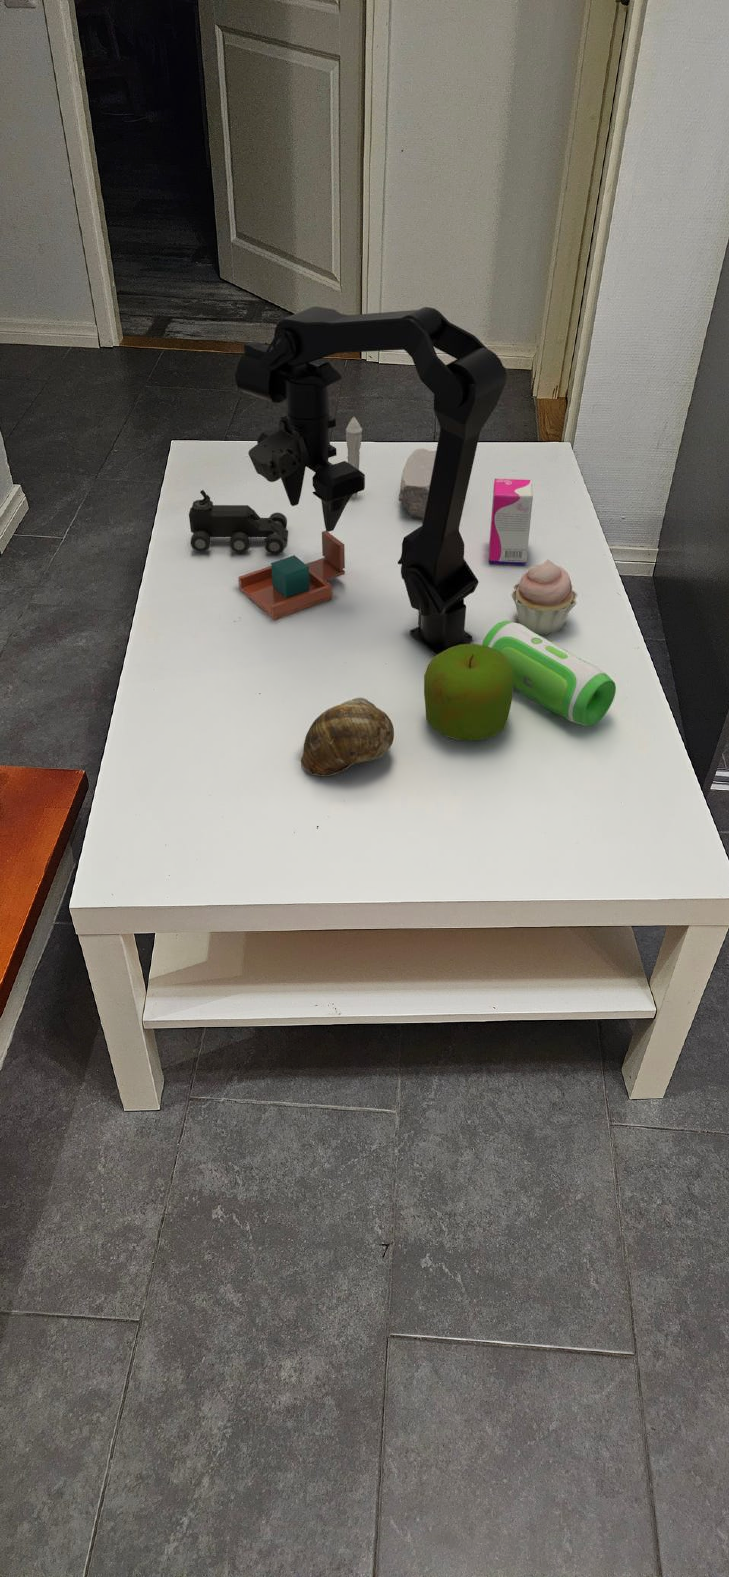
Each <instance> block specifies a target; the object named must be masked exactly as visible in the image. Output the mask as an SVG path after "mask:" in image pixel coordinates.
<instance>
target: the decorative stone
mask: <svg viewBox="0 0 729 1577" xmlns="http://www.w3.org/2000/svg"><path fill="white" fill-rule="evenodd" d="M435 455H436V450H429V449H425V448H416V449H414V450H413V451H412V453H411V454H410V455H409V456H408V457H407V459H406V461H405V464H404V466H403V470H402V474H401V479H400V486H399V487H400V489H399V495H398V501H399V502H401V505H402V506H403V508H404V509H405V511H406V513H407V515H408V516H410V517H411V519H415V520H416V519H417V520H423V518H424V513H425V507H426V502H427V497H428V492H429V486H430V481H431V476H432V471H433V465H434V460H435Z"/></svg>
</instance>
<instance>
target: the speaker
mask: <svg viewBox="0 0 729 1577" xmlns="http://www.w3.org/2000/svg"><path fill="white" fill-rule="evenodd" d="M481 645H484V646H488V647H491V648H493V649H496V650H498V651H499V652H500V653H502V654H503V655H504V656H505V657H506V658H507V659H508V660H509V661H510V663H511V664H512V670H513V682H514V689H516V690H517V691H519V692H520V693H522V694H523V695H525V696H527V697H528V698H530V699H531V700H532V701H534V702H536V703H538V704H539V705H541V706H543V707H545V708H546V709H548V711H551V712H552V713H555V714H556V715H559V716H562V717H564V718H565V719H567V720H568V721H570V722H573V723H575V724H579V725H582V726H587V727H589V726H594V725H595V724H597V723H598V722H599V721H600V720H602V718H603V717H604V716H605V715H606V714H607V713H608V711H609V710H610V708H611V706H612V704H613V701H614V700H615V696H616V691H617V687H616V683H615V681H614V680H613V679H612V678H611V677H610V675H608V674H607V673H606V672H604V671H603V670H602V669H601V668H599V667H597V666H596V665H593V664H591V663H589V662H587V661H585V660H583V659H581V658H580V657H578V656H577V655H574V654H573V653H571V652H569V651H568V650H566V649H564V648H563V647H561V646H560V645H557V644H555V643H553V642H552V641H550V640H548V639H546V638H545V637H543V636H541V634H536V633H534V632H533V631H531V630H530V629H528V628H527V627H526V626H524V625H521V624H520V623H519V622H515V621H510V620H503V621H500V622H497V624H495V625H493V626H492V628H490V629H489V631H488V632H487V634H486V635H485V637H484V639H483V641H482V642H481Z"/></svg>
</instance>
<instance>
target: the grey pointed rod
mask: <svg viewBox="0 0 729 1577" xmlns="http://www.w3.org/2000/svg"><path fill="white" fill-rule="evenodd" d="M345 432H346V433H345V442H346V449H347V462H348V463H349V464H351V465H352V466H354V467H355V468H357V469H358V470H360V452H361V451H360V449H361V447H362V440H363V434H362V432H363V427H361V425H360V423H359V421H358V420H357V418H356V416H353V417H352V418H351V419H350V421H349V423H348V424H347V426H346V428H345ZM357 498H358V493H355V494H353V495H352V497H351V499H354V500H355V499H357Z"/></svg>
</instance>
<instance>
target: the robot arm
mask: <svg viewBox="0 0 729 1577" xmlns="http://www.w3.org/2000/svg"><path fill="white" fill-rule="evenodd" d="M436 350H439V351H441V352H442V353H443V354H446V355H447V356H450V357H452V358H454V360H453V361H450V362H449V363H447V364H445V362H443V361H442V359H441V358H439V356H438V354H437V352H436ZM243 351H244V353H243V354H242V355H241V357H240V358H239V361H238V363H237V366H236V371H235V373H234V380H235V383H236V386H237V388H238V389H239V391H240V392H242V393H243V394H248V395H250V396H252V397H256V398H260V399H262V400H265V401H268V402H271V403H274V404H279V403H282V402H283V401H285V413H286V415H284V416H281V417H280V418H279V421H278V427H275V428H271V429H268V430H265V431H262V432H261V433H260V435H259V436H258V438H257V439H256V442H257V444H255V445H254V446H253V447H252V448H250V449H249V450H248V457H249V458H250V460H251V463H252V465H253V468H254V469H255V472H256V473H257V474H258V475H260V476H262V477H263V478H264V479H265V480H266V481H267V482H269V483H274V482H277V481H279V480H281V483H282V485H283V488H284V490H285V493H286V496H287V499H288V502H289V504H290V506H291V507H295V506H298V505H299V503H300V500H301V495H302V490H303V484H304V478H305V472H306V468H308V469H309V470H311V471H312V472H313V473H314V475H313V476H312V478H311V479H312V487H313V489H314V491H312V495H314V496H315V497H316V498H318V499H319V500H320V501H321V509H322V515H323V523H324V528H325V531H327V532H329V533H330V532H332V531H334V530H335V528H336V526H337V525H338V523H339V520H340V518H341V516H342V515H343V512H344V510H345V508H346V507H347V505H348V503H349V502H350V500H351V499H352V495H353V494H355V493H357V494H358V493H359V492H362V491H364V490H365V488H366V474H365V473H364V472H362V471H361V470H360V469H359V470H358V469H357V468H355V467H354V466H352V465H351V464H349V463H348V461H346V460H343V461H340V462H337V463H332V462H330V461H329V458H333V457H336V456H337V447H335V446H334V445H332V444H331V435H330V434H331V433H330V432H331V430H330V429H332V428H335V427H337V419H336V418H335V417H333V416H331V414H330V395H329V390H330V389H329V387H330V386H332V385H334V384H336V383H338V382H340V381H342V380H343V376H342V375H341V373H340V372H339V371H338V370H337V369H335V368H334V367H333V365H332V364H331V362H330V361H326V362H324V363H322V364H317V363H314V362H315V361H318V360H320V359H323V358H326V357H329V356H332V355H336V354H344V353H365V352H366V353H368V352H385V351H388V352H389V351H405V352H406V353H407V355H408V356H410V357H411V360H412V362H413V365H414V367H415V370H416V372H417V375H418V378H419V380H420V381H421V382H422V384H424V386H426V388H428V389H429V391H430V392H431V393H433V411H434V414H435V416H436V419H437V421H438V425H439V435H438V439H437V444H436V445H437V446H436V450H435V451H436V455H435V460H434V465H433V471H432V476H431V481H430V486H429V492H428V497H427V502H426V507H425V513H424V518H423V519H422V524H421V525H420V526H419V527H417V528H416V529H414V530H413V531H411V532H410V533H408V534H407V535H406V536H404V537H403V539H402V543H401V554H400V558H399V559H398V560H397V564H398V565H400V576H401V579H402V580H403V582H404V585H405V588H406V592H407V596H408V600H409V603H410V607H411V608H412V609H414V610H417V614H418V616H417V625H418V626H417V627H415V628H412V629H410V630H409V635H410V636H411V637H413V638H414V639H415V640H416V641H418V643H420V644H421V645H422V646H424V647H425V648H426V649H427V650H428V651H430V652H431V653H432V654H434V655H435V656H436V655H438V654H439V653H441V652H443V651H445V650H446V649H448V648H450V647H454V646H457V645H461V644H469V643H471V642H472V641H473V636H472V635H471V634H469V633H468V632H467V631H466V630H465V629H466V628H465V627H466V613H467V605H466V604H465V598H468V596H470V595H471V594H473V593H474V592H475V591H476V589H477V587H478V585H479V583H480V582H479V579H478V578H477V576H476V575H475V573H474V572H473V570H472V568H471V567H470V566H469V564H468V562H467V561H466V559H465V541H464V540H463V537H462V534H461V532H460V525H461V520H462V516H463V512H464V507H465V502H466V499H467V498H466V497H467V494H468V488H469V484H470V480H471V475H472V471H473V466H474V461H475V457H476V452H477V448H478V443H479V439H480V434H481V431H482V430H483V427H484V426H485V424H486V423H487V421H488V420H489V418H490V417H491V415H492V413H493V412H494V410H495V409H496V408H497V405H498V402H499V400H500V398H501V396H502V393H503V391H504V388H505V387H506V382H507V376H508V374H507V368H506V366H504V364H503V363H502V360H501V359H500V358H499V356H498V355H497V354H496V353H495V352H493V351H492V350H491V349H489V348H488V347H486V346H485V344H484V343H482V342H481V340H480V339H479V338H478V337H477V336H476V335H474V334H472V333H471V332H469V331H467V330H465V329H463V328H462V327H460V326H457V325H456V324H454V323H452V322H450V321H449V320H448V319H447V318H446V317H445V316H444V315H443V314H442V313H441V312H440V311H439V310H438V309H437V308H434V307H429V306H424V307H422V308H419V309H411V310H400V311H399V310H397V311H384V312H373V313H359V314H344V313H341V312H339V311H338V310H336V309H334V308H329V307H323V306H311V307H309V308H306V309H304V310H302V311H301V310H300V311H299V312H297V313H294V314H292V315H289V316H287V317H285V318H282V319H279V320H278V321H277V323H276V325H275V328H274V335H273V338H272V340H271V341H270V344H269V345H265V344H264V343H262V342H260V341H257V340H252V341H249V342H247V343H246V344H244V345H243Z"/></svg>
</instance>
